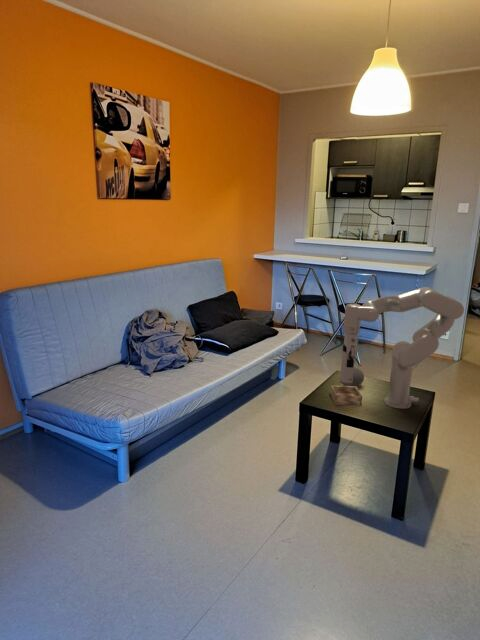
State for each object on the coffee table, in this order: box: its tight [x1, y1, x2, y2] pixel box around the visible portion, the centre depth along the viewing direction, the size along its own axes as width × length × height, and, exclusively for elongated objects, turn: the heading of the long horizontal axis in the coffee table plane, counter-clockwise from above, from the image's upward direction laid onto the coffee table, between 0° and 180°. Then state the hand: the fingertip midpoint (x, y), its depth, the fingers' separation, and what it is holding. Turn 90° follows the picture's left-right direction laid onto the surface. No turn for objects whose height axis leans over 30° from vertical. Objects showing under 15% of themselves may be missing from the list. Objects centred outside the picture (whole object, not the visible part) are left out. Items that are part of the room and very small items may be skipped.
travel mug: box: [339, 344, 356, 386], centre depth 220 cm, size 6×7×20 cm
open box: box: [329, 385, 363, 406], centre depth 224 cm, size 13×13×4 cm
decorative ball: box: [349, 367, 365, 387], centre depth 241 cm, size 10×10×10 cm
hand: (348, 364), depth 220 cm, fingers closed on travel mug, 6 cm apart
